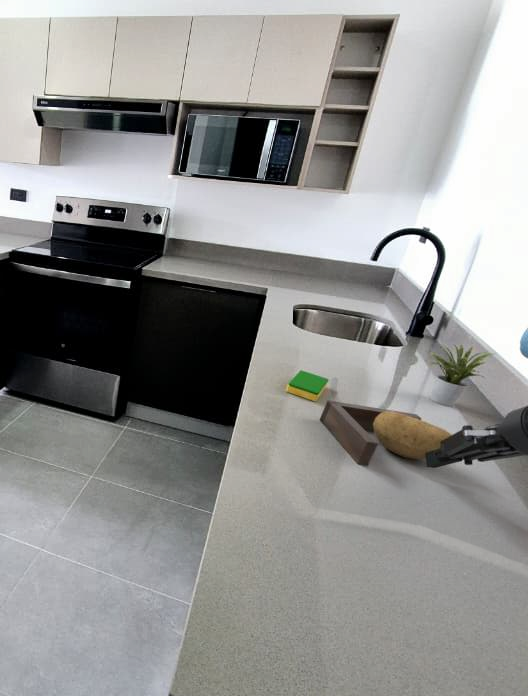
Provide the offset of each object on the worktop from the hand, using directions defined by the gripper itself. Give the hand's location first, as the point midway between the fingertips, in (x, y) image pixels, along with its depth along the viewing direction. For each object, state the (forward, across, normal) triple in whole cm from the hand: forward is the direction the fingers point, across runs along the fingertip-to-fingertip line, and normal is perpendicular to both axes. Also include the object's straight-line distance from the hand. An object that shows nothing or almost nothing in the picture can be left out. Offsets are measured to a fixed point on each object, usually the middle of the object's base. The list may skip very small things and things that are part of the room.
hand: (429, 460), depth 95 cm
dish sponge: (+28, +9, -23) cm, 37 cm away
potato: (+8, 0, -3) cm, 8 cm away
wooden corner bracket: (+8, +3, -4) cm, 10 cm away
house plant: (+33, -31, -28) cm, 54 cm away
